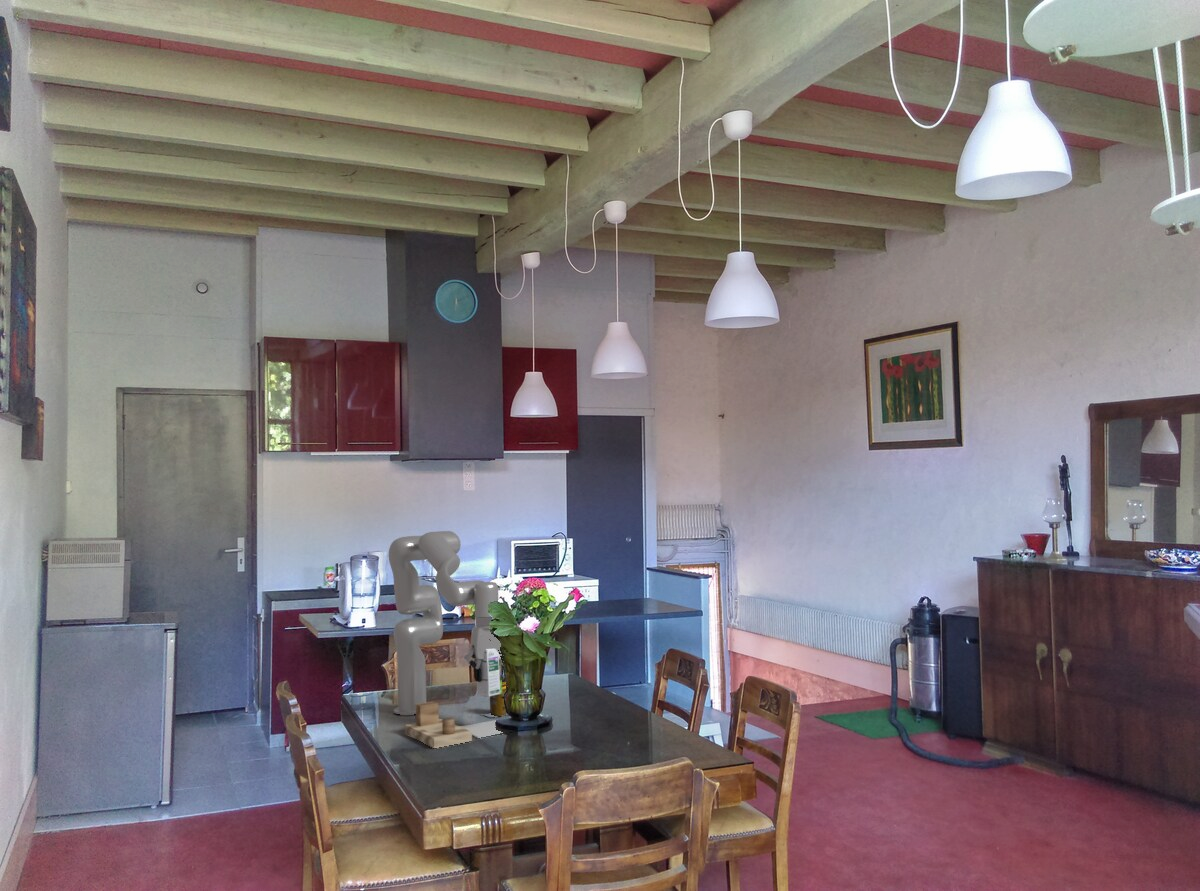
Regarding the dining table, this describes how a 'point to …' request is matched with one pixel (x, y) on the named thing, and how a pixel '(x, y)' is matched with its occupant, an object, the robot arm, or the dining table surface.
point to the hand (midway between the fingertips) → (488, 679)
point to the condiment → (498, 702)
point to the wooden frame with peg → (436, 727)
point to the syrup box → (490, 674)
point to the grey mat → (482, 729)
